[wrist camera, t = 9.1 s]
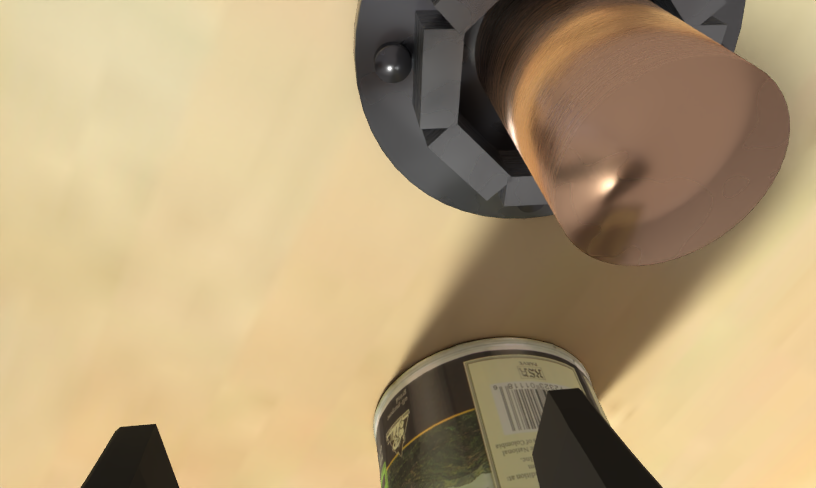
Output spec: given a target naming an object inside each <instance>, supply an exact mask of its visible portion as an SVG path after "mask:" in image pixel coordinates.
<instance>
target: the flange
mask: <svg viewBox="0 0 816 488" xmlns="http://www.w3.org/2000/svg"><path fill="white" fill-rule="evenodd" d="M497 1H498V0H358V6H357V12H356V18H355V24H354V61H355V71H356V79H357V86H358V90H359V95H360V99H361V103H362V107H363V111H364V113H365V116H366V118H367V121H368V124H369V126H370V129H371V131H372V133H373V135H374V137H375V138H376V140H377V142H378V144H379V145H380V147H381V149H382V151H383V152H384V153H385V155H386V156H387V157H388V158H389V160H390V161H391V162H392V164H393V165H394V166H395V168H396V169H397V170H399V171H400V172H401V173H402V174H403V175H404V176H405V177H406V178H407V179H408V180H409V181H410V182H411V183H412V184H414V185H415V186H416V187H418V188H419V189H420V190H422V191H423V192H425V193H426V194H427V195H429V196H431V197H433V198H435V199H437V200H438V201H440V202H442V203H444V204H446V205H449V206H451V207H454V208H457V209H459V210H462V211H465V212H469V213H473V214H477V215H481V216H488V217H496V218H533V217H542V216H548V215H553V214H554V213H553V211H552V210H551V208H550V206H549V204H548V202H547V201H546V199H545V197H544V195H543V194H542V192H541V190H540V188H539V187H538V185H537V183H536V181H535V180H534V178H533V176H532V174H531V173H530V171H529V169H528V167H527V165H526V164H525V162H524V160H523V158H522V157H521V155H520V153H519V151H518V150H517V148H516V146H515V144H514V143H513V141H512V139H511V137H510V136H509V134H508V132H507V130H506V128H505V127H504V125H503V123H502V121H501V120H500V118H499V116H498V114H497V113H496V111H495V109H494V107H493V106H492V104H491V102H490V100H489V99H488V97H487V95H486V93H485V91H484V90H483V88H482V86H481V84H480V81H479V79H478V76H477V72H476V67H475V43H476V38H477V34H478V30H479V27H480V24H481V22H482V20H483V17H484V15H485V13H486V12H487V11H488V10H489V9H490V8H491V7H492V6H493V5H494V4H495V3H496V2H497ZM650 1H651V2H653V3H654V4H656V5H658V6H659V7H661V8H662V9H664V10H666V11H667V12H669V13H670V14H672V15H674V16H675V17H677V18H679V19H680V20H682V21H683V22H685V23H687V24H688V25H690V26H691V27H693V28H695V29H696V30H698V31H699V32H701V33H703V34H704V35H706V36H707V37H709V38H711V39H712V40H714V41H716V42H717V43H719V44H720V45H722V46H724V47H725V48H727V49H728V50H730V51H732V52H733V53H734V50H735V47H736V43H737V40H738V36H739V33H740V29H741V24H742V18H743V13H744V7H745V0H650Z"/></svg>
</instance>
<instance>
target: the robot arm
mask: <svg viewBox="0 0 816 488" xmlns="http://www.w3.org/2000/svg"><path fill="white" fill-rule="evenodd" d="M532 456H533V461H534V465H535V469H536V474H537V478H538V482H539V486H540V488H663V487H662V486H661V485H660V484H659V483H658V482H657V481H656V479H655V478H654V477H653V476H652V475H651V474H650V473H649V472H648V470H647V469H646V468H645V467H644V466H643V465H642V464H641V462H640V461H639V460H638V459H637V458H636V457H635V455H634V454H633V453H632V452H631V451H630V449H629V448H628V447H627V446H626V445H625V443H624V442H623V441H622V440H621V439H620V437H619V436H618V435H617V434H616V433H615V431H614V430H613V429H612V428H611V426H610V425H609V424H608V423H607V421H606V420H605V419H604V418H603V416H602V415H601V414H600V413H599V411H598V410H597V409H596V408H595V406H594V405H593V404H592V403H591V401H590V400H589V399H588V398H587V396H586V395H585V394H584V392H583V391H582V390H580V389H579V388H571V389H560V390H548V392H547V396H546V400H545V404H544V408H543V412H542V416H541V420H540V424H539V428H538V432H537V436H536V440H535V444H534V448H533V452H532ZM81 488H179V486H178V483H177V480H176V478H175V475H174V472H173V469H172V467H171V464H170V461H169V458H168V456H167V453H166V450H165V448H164V445H163V442H162V439H161V437H160V434H159V431H158V428H157V426H156V424H150V425H139V426H127V427H120V428H119V429H118V430H116V431H115V433H114V434H113V436H112V438H111V439H110V441H109V443H108V444H107V446H106V448H105V449H104V451H103V453H102V454H101V456H100V458H99V459H98V461H97V462H96V464H95V466H94V467H93V469H92V471H91V472H90V474H89V475H88V477H87V478H86V480H85V482H84V483H83V485H82V486H81Z"/></svg>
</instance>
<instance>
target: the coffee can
mask: <svg viewBox="0 0 816 488" xmlns="http://www.w3.org/2000/svg"><path fill="white" fill-rule="evenodd" d="M571 388H579V389H580V390H582V391H583V392H584V394H585V395H586V396H587V398H588V399H589V400H590V401H591V403H592V404H593V405H594V406H595V408H596V409H597V410H598V411H599V413H600V414H601V415H602V416H603V418H604V419H605V420H606V421H607V423H608V424H609V422H608V420H607V418H606V416H605V413H604V411H603V409H602V407H601V405H600V403H599V401H598V398H597V396H596V394H595V392H594V389H593V387H592V383H591V380H590V377H589V374H588V372H587V371H586V369H585V368H584V366H583V365H582V364H581V363H580V361H579V360H577V359H576V358H575V357H574V356H573V355H572V354H570V353H569V352H567V351H565V350H564V349H562V348H560V347H557V346H555V345H553V344H551V343H546V342H541V341H537V340H532V339H526V338H514V337H501V338H490V339H482V340H477V341H472V342H467V343H462V344H459V345H456V346H454V347H452V348H449V349H446V350H443V351H440V352H437V353H435V354H434V355H432V356H430V357H427V358H425V359H423V360H422V361H420V362H419V363H417V364H415V365H414V366H412V367H411V368H410V369H408V370H407V371H406V372H404V373H403V374H402V375H401V376H400V377H399V378H398V379H397V380H396V381H394V382H393V384H392V385H391V386H390V387H389V388H388V389H387V390H386V392H385V393H384V395H383V397H382V398H381V400H380V402H379V404H378V406H377V409H376V412H375V416H374V424H373V428H374V436H375V441H376V444H377V452H378V462H379V469H380V480H381V488H540V486H539V482H538V478H537V474H536V469H535V465H534V461H533V456H532V452H533V448H534V444H535V440H536V436H537V432H538V428H539V424H540V420H541V416H542V412H543V408H544V404H545V400H546V396H547V392H548V390H560V389H571ZM609 425H610V424H609Z"/></svg>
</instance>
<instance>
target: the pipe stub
mask: <svg viewBox="0 0 816 488" xmlns="http://www.w3.org/2000/svg"><path fill="white" fill-rule="evenodd" d="M475 67H476V72H477V76H478V79H479V81H480V84H481V86H482V88H483V90H484V91H485V93H486V95H487V97H488V99H489V100H490V102H491V104H492V106H493V107H494V109H495V111H496V113H497V114H498V116H499V118H500V120H501V121H502V123H503V125H504V127H505V128H506V130H507V132H508V134H509V136H510V137H511V139H512V141H513V143H514V144H515V146H516V148H517V150H518V151H519V153H520V155H521V157H522V158H523V160H524V162H525V164H526V165H527V167H528V169H529V171H530V173H531V174H532V176H533V178H534V180H535V181H536V183H537V185H538V187H539V188H540V190H541V192H542V194H543V195H544V197H545V199H546V201H547V202H548V204H549V206H550V208H551V210H552V211H553V213H554V215H555V217H556V218H557V220H558V222H559V224H560V225H561V227H562V229H563V231H564V232H565V234H566V236H567V237H568V238H569V239H570V241H571V242H572V243H573V244H574V245H575V246H576V247H577V248H579V249H580V250H581V251H582V252H584V253H586V254H587V255H589V256H591V257H593V258H595V259H598V260H600V261H603V262H607V263H611V264H616V265H624V266H641V265H651V264H656V263H662V262H666V261H669V260H673V259H676V258H679V257H682V256H684V255H687V254H690V253H692V252H694V251H696V250H698V249H700V248H702V247H704V246H706V245H708V244H710V243H711V242H713V241H714V240H716V239H718V238H719V237H721V236H722V235H724V234H725V233H726V232H728V231H729V230H730V229H732V228H733V227H734V226H735V225H736V224H738V223H739V222H740V221H741V220H742V219H743V218H744V217H745V216H746V215H747V214H748V213H749V212H750V211H751V210H752V209H753V208H754V207H755V206H756V205H757V203H758V202H759V201H760V200H761V199H762V197H763V196H764V195H765V193H766V192H767V190H768V189H769V187H770V186H771V184H772V183H773V181H774V179H775V177H776V175H777V173H778V172H779V170H780V167H781V165H782V162H783V160H784V157H785V153H786V150H787V146H788V141H789V133H790V120H789V112H788V108H787V104H786V101H785V99H784V96H783V94H782V92H781V90H780V89H779V87H778V86H777V84H776V83H775V82H774V81H773V80H772V79H771V78H770V77H769V76H768V75H767V74H766V73H765V72H763V71H762V70H760V69H759V68H757V67H756V66H754V65H753V64H751V63H749V62H748V61H746V60H744V59H743V58H741V57H740V56H738V55H736V54H735V53H733V52H732V51H730V50H728V49H727V48H725V47H724V46H722V45H720V44H719V43H717V42H716V41H714V40H712V39H711V38H709V37H707V36H706V35H704V34H703V33H701V32H699V31H698V30H696V29H695V28H693V27H691V26H690V25H688V24H687V23H685V22H683V21H682V20H680V19H679V18H677V17H675V16H674V15H672V14H670V13H669V12H667V11H666V10H664V9H662V8H661V7H659V6H658V5H656V4H654V3H653V2H651V1H650V0H498V1H497V2H496V3H495V4H494V5H493V6H492V7H491V8H490V9H489V10H488V11H487V12H486V13H485V15H484V17H483V20H482V22H481V24H480V27H479V30H478V34H477V38H476V43H475Z"/></svg>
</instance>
